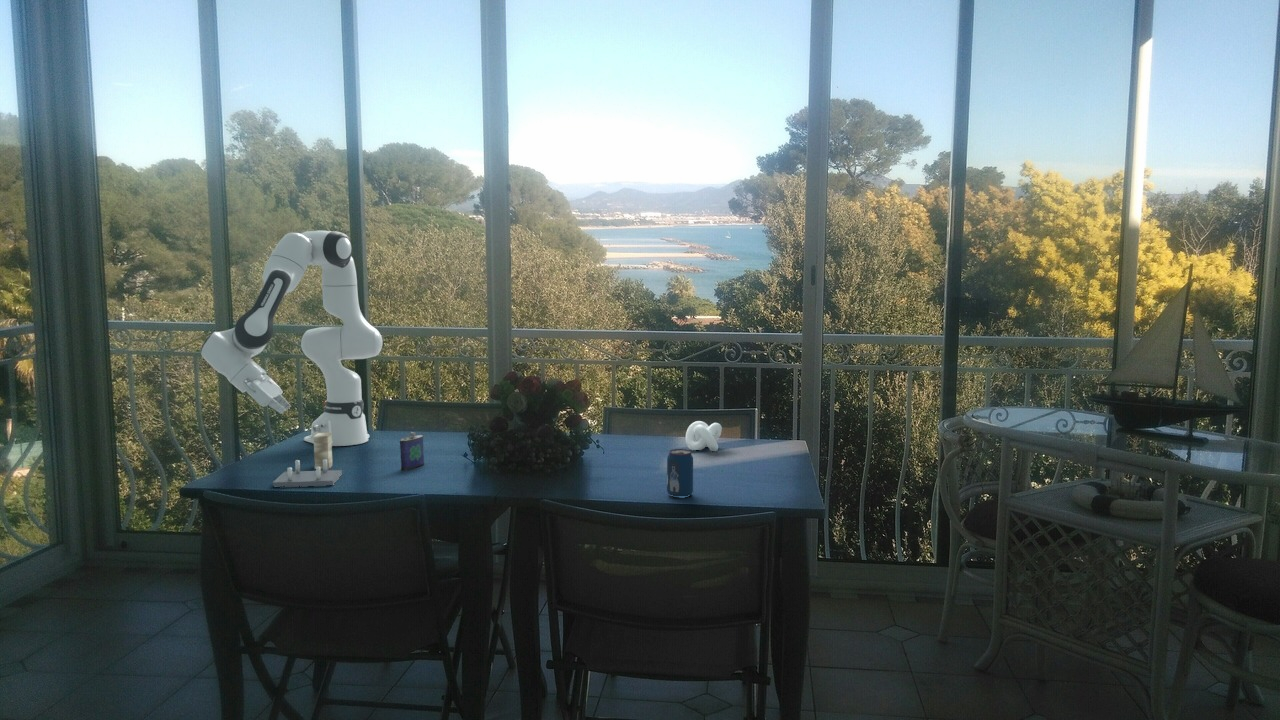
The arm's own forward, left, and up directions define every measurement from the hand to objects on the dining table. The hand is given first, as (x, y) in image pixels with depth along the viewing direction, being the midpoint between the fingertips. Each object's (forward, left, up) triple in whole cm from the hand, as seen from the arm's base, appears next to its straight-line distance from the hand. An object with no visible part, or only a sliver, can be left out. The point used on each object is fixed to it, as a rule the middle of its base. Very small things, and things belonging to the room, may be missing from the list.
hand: (286, 410), depth 272 cm
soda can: (+112, +39, -18) cm, 120 cm away
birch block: (+7, +7, -18) cm, 20 cm away
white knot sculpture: (+90, +90, -18) cm, 128 cm away
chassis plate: (+17, -6, -18) cm, 25 cm away
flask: (+29, +22, -18) cm, 41 cm away
